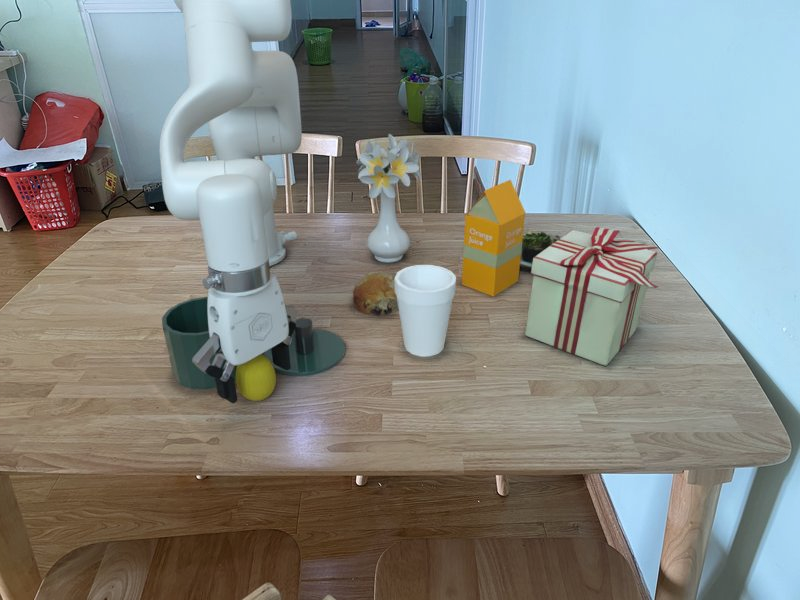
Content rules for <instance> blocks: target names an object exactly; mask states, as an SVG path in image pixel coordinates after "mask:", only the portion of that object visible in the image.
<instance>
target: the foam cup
mask: <svg viewBox="0 0 800 600" xmlns="http://www.w3.org/2000/svg"><path fill="white" fill-rule="evenodd" d="M394 276H395V278H394V280H395V294H396V296H397V302H398V308H399V310H398V314H399V320H400V326H401V333H402V334H401V335H402V339H403V346H404V348H405V350H406V351H407V352H408V353H409V354H412V355H413V356H417V357H420V358H421V357H422V358H423V357H425V358H426V357H433V356H435V355H438V354H440V353H441V352H442V351H443V350H444V348H445V343H446V336H447V332H448V326H449V321H450V316H451V311H452V305H453V300H454V298H455V295H456V291H457V277H456V275H455V274H454V273H453V270H450V269H448V268H445V267H444V266H439V265H434V264H415V265H411V266H406V267H403V268H402V269H400V270H399V271H397V272H396V274H395V275H394Z"/></svg>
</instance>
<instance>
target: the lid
mask: <svg viewBox="0 0 800 600" xmlns="http://www.w3.org/2000/svg"><path fill="white" fill-rule="evenodd" d="M295 323H296V328H295V330H294V332H293V334H292V336H291V338H292V342H291V344H289V354H290V365H291V368H290V369H289V370H285V369H283V368H281V367H279V366H277V365H275V364H274V363H273V359H272V351H271V349H269V350H267V351H265V352H264V356H265V357H267V358H268V359H269V360H270V361H271V363H272V365H273V367H274V370H275V372H277V373H279V374H283V375H287V376H293V377H304V376H312V375H313V376H314V375H317V374H321V373H324V372H327V371H328V370H331V369H333V368H334V367H335V366H338V364H339V363H340V362H342V360H343V358H344V357H345V354H346V344H345V341H344V340H343V339H342V338H341V336H339V335H337V334H336V333H334V332H332V331H329V330H326V329H322V328H314V327H313V326H314V325H313V321H312V319H310V318H307V317H301V318H297V320H296V321H295Z"/></svg>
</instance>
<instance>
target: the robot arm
mask: <svg viewBox="0 0 800 600" xmlns="http://www.w3.org/2000/svg"><path fill="white" fill-rule="evenodd" d="M173 2H174V3H175V5H176V8H178V9H179V11H180V12H181V13H182V14H183V15H182V17H183V29H184V39H185V49H186V59H187V72H188V80H189V84H188V87H187V89H186V90H185V91H184V92H183V94H182V95H181V96H180V97H179V98H178V99H177V100H176V101H175V103H174V105H173V106H172V107H171V108H170V111H169V112H168V114H167V116H166V118H165V120H164V123H163V125H162V127H161V128H162V129H161V132H160V136H159V159H160V161H159V162H160V174H161V186H162V187H161V188H162V193H163V199H164V203H165V205H166V208H167V210H168V211H169V213H170V214H171V215H172V216H173V217H175V218H177V219H179V220H182V221H199V223H200V229H201V233H202V240H203V245H204V251H205V257H206V262H207V263H206V264H207V273H208V276H207V277H204V278H203V279H202V285H203V287H204V288H205V289H206V290H207V297H208V305H207V308H208V326H209V335H210V339H209V340H208V341H207V342H206V343H205V344H204V345H203V347H202V348H201V349H200V350H199V351H198V352H197V353H196V355H195V356H194V357H193V358H192V362H193V363H194V364H195V365H196V366H197V367H198V368H199V369H200V370H201V371H202V372H204V373H206V374H208V375H209V376H212V377H214V378H215V382H216V393H217V395H218V396H219V397H220V398H221V399H224V400H226V401H228V403H231V404H236V403H237V402H238V393H237V388H236V387H237V386H236V380H235V381H234V378H233V377H231V376H230V375H231V373H232V370H233V368H234V366H235V365H241V364H244V363H246V362H248V361H249V360H251V359H253V358H255V357H257V356H258V355H260V354H261V355H263V353H264V354H265V351H267V350H269V349H271V351H272V359H273V363H274V364H275V365H277V366H279V367H281V368H283V369H285V370H289V369H290V368H291V365H290V354H289V344H291V342H292V338H291V336H292V334H293V332H294V330H295V328H296V323H295V321H296V320H297V319H298V316H299V312H300V310H299V308H298V307H296V306H293V305H286V303H285V299H284V294H283V292H282V289H281V286H280V283H279V281H278V278H277V275H276V274H275V273H274V272H271V267H272V266H275V265H277V264H279V263H280V262H282V261H283V260H284V259H285V258H286V255H287V251H286V248H285V246H284V245H286V243H288V242H293V241H296V240H297V239H298V236H297V232H296V231H295V230H293V231H289V232H287V233H286V232H285V231H284V230H280V231H278V232H277V228H276V227H277V226H276V219H275V209H274V202H276V200H277V196H278V184H277V177H276V175H275V172H274V171H273V170H272V168H271V166H270V165H269V164H268V163H267V162H265V161H264V160H261V159H258V158H256V157H262V156H279V155H289V154H293V153H296V152H297V151H298V150H300V147H301V145H302V139H303V137H302V136H303V132H302V131H303V130H302V116H301V102H300V101H301V100H300V90H299V88H300V87H299V80H298V79H299V78H298V72H297V68H296V65H295V62H294V60H293V58H292V57H291V56H290V54H288V53H287V52H285V51H280V50H254V49H253V44H252V43H262V42H263V43H264V42H282V41H284V40H286V39H287V38H288V37H289V35H290V32H291V29H292V19H293V17H292V3H291V0H173ZM206 124H208V132H209V136H210V140H211V143H212V146H213V149H214V152H215V155H216V159H215V160H211V159H210V160H195V161H185V149H186V146H187V143H188V141H189V140H190V138H191V137H192V136H193V135H194V134H195V133H196V132H197V131H198V130H200V128H201V127H203V126H204V125H206ZM213 354H215V355H216V356H215V358H214V361H213V363H212V365H211V364H210V362H209V360H210V358H211V357H212V356H213ZM224 360H226V363H225V365H224V367H223V369H221V366H222V363H223V361H224Z"/></svg>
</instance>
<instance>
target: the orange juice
mask: <svg viewBox="0 0 800 600" xmlns="http://www.w3.org/2000/svg"><path fill="white" fill-rule="evenodd" d="M464 216H465V217H464V232H463V233H464V235H463V236H464V237H463V247H462V274H461V276H462V277H461V285H462V286H465V287H467V288H470V289H472V290H475V291H478V292H480V293H483V294H486V295H488V296H490V297H496V296H497V295H499V294H500V293H501V292H504V291H506V289H508V288H510V287H511V286H513V285H514V284H516V283H517V282H519V277H520V258H521V251H522V238H523V236H524V227H525V219H526V211H525V209H524V206H523V204H522V201H521V200H520V197H519V195H518V193H517V191H516V189H515V186H514V184H513V182H512V180H511V179H509V180H506V181H504V182H502V183H499V184H496V185H494V186H492V187H490V188H487V189H485V190H483V192H482V194H481V195H480V197H479V198H478V199H477V201H476V202H475V203H474V204H473V206H472V207H471V208H470V209H469V211H468V212H467V213H466V214H465V215H464Z"/></svg>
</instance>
